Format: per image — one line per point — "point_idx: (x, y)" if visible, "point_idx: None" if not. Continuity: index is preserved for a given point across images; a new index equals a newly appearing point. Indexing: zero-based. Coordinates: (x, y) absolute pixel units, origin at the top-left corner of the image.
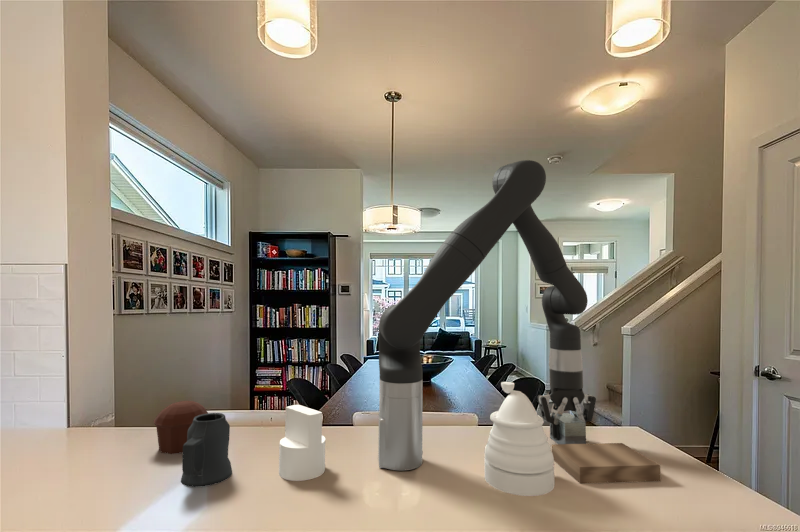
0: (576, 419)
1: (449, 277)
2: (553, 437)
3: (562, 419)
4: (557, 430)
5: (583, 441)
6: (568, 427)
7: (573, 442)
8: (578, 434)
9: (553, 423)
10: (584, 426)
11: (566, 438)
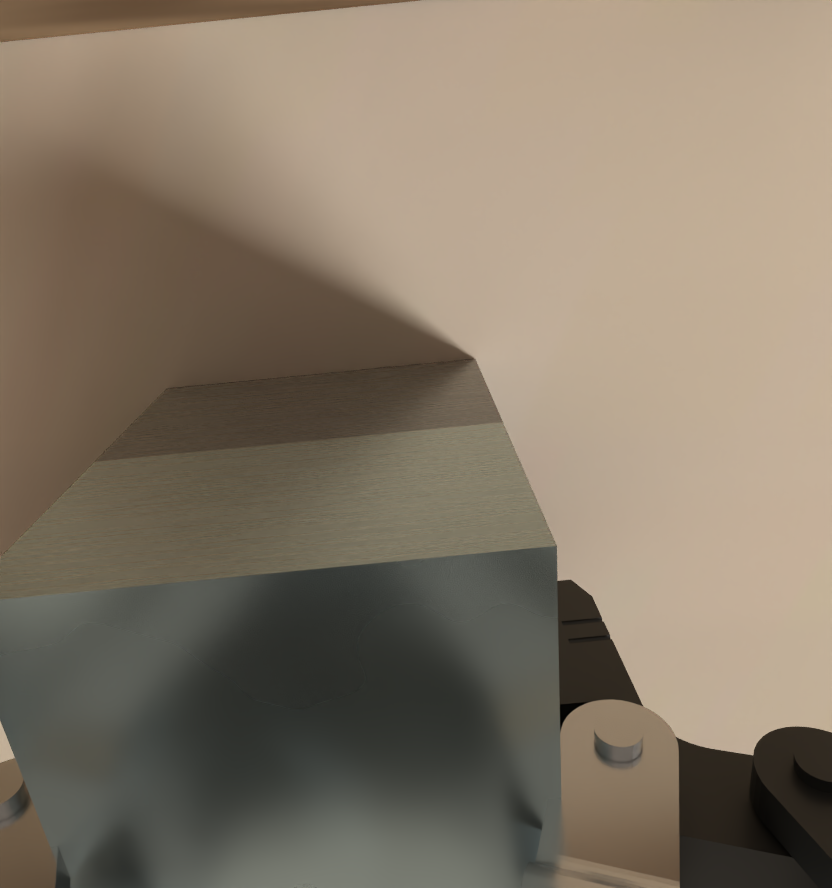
0: (130, 820)
1: None
2: (572, 592)
3: (480, 799)
4: None
5: (173, 420)
6: (442, 500)
7: (347, 399)
8: (231, 462)
9: (646, 739)
10: (35, 547)
11: (470, 412)
